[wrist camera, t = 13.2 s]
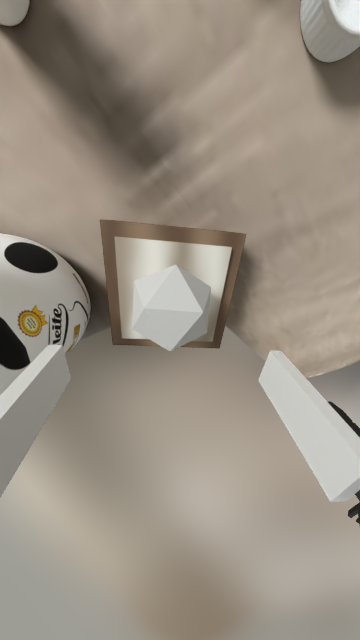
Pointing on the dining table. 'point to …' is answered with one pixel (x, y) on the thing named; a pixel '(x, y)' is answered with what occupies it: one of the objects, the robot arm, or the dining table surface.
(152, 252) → the plinth
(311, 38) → the ramekin
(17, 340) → the milk container
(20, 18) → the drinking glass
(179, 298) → the die
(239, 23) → the dining table surface
